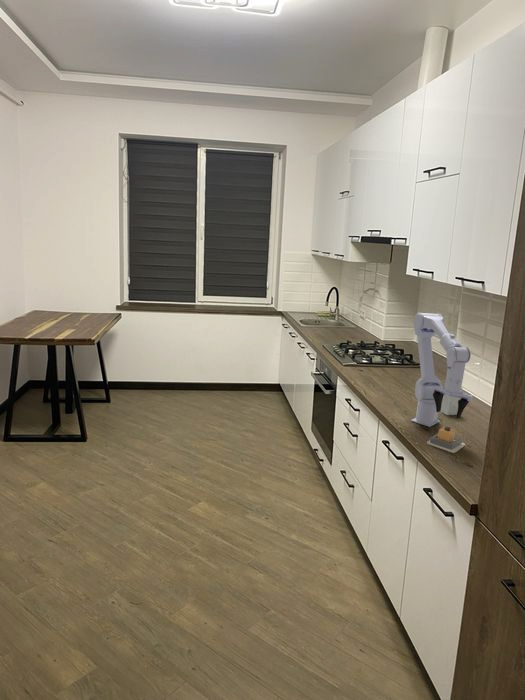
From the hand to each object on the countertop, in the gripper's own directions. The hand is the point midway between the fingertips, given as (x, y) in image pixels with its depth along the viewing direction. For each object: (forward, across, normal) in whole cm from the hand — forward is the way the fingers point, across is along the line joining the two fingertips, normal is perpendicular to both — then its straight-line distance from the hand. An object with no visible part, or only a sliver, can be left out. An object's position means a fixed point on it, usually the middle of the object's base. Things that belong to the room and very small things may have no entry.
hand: (448, 414), depth 189 cm
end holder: (+9, +4, -7) cm, 12 cm away
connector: (+8, +3, -7) cm, 11 cm away
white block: (+9, -10, +29) cm, 32 cm away
